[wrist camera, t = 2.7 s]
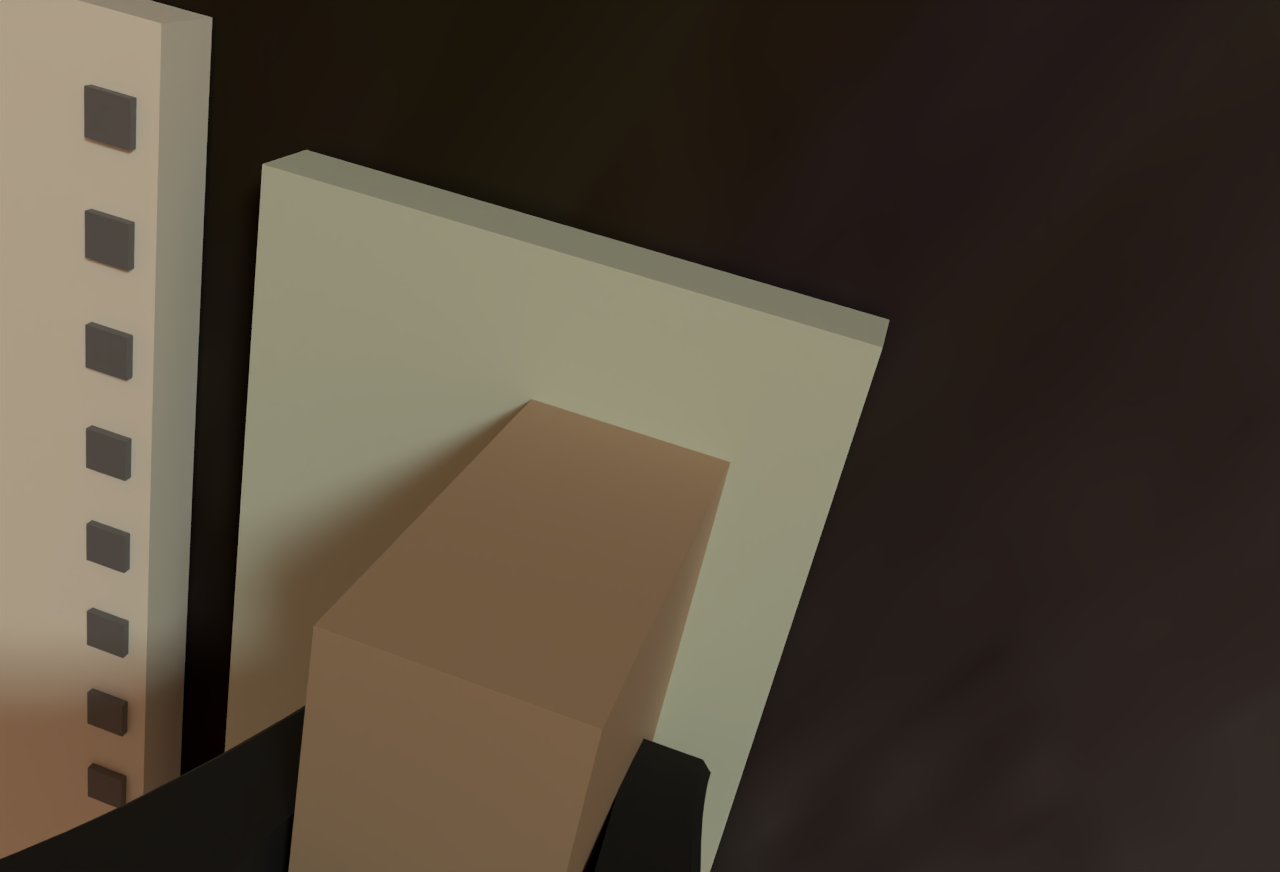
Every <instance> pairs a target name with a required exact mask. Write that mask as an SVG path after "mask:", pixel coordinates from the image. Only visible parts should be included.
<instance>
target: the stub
mask: <svg viewBox="0 0 1280 872" xmlns="http://www.w3.org/2000/svg"><path fill="white" fill-rule="evenodd" d="M888 324H889V320H888V319H885V318H881V317H878V316H874V315H871V314H868V313H864V312H861V311H857V310H854V309H850V308H847V307H844V306H840V305H837V304H833V303H830V302H826V301H823V300H820V299H816V298H813V297H809V296H806V295H802V294H799V293H796V292H792V291H789V290H785V289H782V288H778V287H775V286H772V285H768V284H765V283H761V282H758V281H754V280H751V279H747V278H744V277H741V276H737V275H734V274H730V273H727V272H723V271H720V270H717V269H713V268H710V267H706V266H703V265H699V264H696V263H693V262H689V261H686V260H682V259H679V258H675V257H672V256H669V255H665V254H662V253H658V252H655V251H651V250H648V249H645V248H641V247H638V246H634V245H631V244H627V243H624V242H621V241H617V240H614V239H610V238H607V237H603V236H600V235H597V234H593V233H590V232H586V231H583V230H579V229H576V228H573V227H569V226H566V225H562V224H559V223H555V222H552V221H549V220H545V219H542V218H538V217H535V216H531V215H528V214H524V213H521V212H518V211H514V210H511V209H507V208H504V207H500V206H497V205H494V204H490V203H487V202H483V201H480V200H476V199H473V198H470V197H466V196H463V195H459V194H456V193H452V192H449V191H446V190H442V189H439V188H435V187H432V186H428V185H425V184H422V183H418V182H415V181H411V180H408V179H404V178H401V177H398V176H394V175H391V174H387V173H384V172H380V171H377V170H374V169H370V168H367V167H363V166H360V165H356V164H353V163H350V162H346V161H343V160H339V159H336V158H332V157H329V156H326V155H322V154H319V153H315V152H312V151H308V150H305V151H301V152H298V153H295V154H292V155H289V156H286V157H283V158H280V159H277V160H274V161H271V162H268V163H265V164H262V179H261V195H260V210H259V226H258V241H257V257H256V272H255V288H254V304H253V319H252V335H251V350H250V366H249V381H248V397H247V413H246V428H245V444H244V459H243V475H242V490H241V506H240V522H239V537H238V553H237V568H236V584H235V599H234V615H233V631H232V646H231V662H230V677H229V693H228V708H227V724H226V740H225V752H226V751H228V750H229V749H231V748H233V747H235V746H236V745H238V744H240V743H241V742H243V741H245V740H247V739H248V738H250V737H252V736H254V735H255V734H257V733H259V732H261V731H262V730H264V729H266V728H268V727H269V726H271V725H273V724H275V723H276V722H278V721H280V720H281V719H283V718H285V717H286V716H288V715H290V714H291V713H293V712H295V711H296V710H298V709H300V708H301V707H303V706H305V715H304V725H303V735H302V744H301V754H300V764H299V773H298V783H297V793H296V803H295V812H294V822H293V832H292V842H291V851H290V861H289V871H288V872H594V871H595V868H596V864H597V861H598V857H599V854H600V851H601V847H602V844H603V840H604V837H605V833H606V830H607V827H608V823H609V820H610V816H611V813H612V809H613V806H614V802H615V799H616V796H617V792H618V789H619V787H620V785H621V783H622V781H623V779H624V777H625V775H626V773H627V771H628V769H629V766H630V764H631V762H632V760H633V758H634V756H635V754H636V753H637V751H638V749H639V747H640V745H641V743H642V741H643V739H647V740H650V741H653V742H655V743H658V744H661V745H664V746H667V747H669V748H672V749H675V750H678V751H681V752H683V753H686V754H689V755H692V756H695V757H697V758H700V759H703V760H704V762H705V764H706V765H707V767H708V769H709V770H710V772H711V774H710V778H709V781H708V785H707V790H706V797H705V803H704V811H703V821H702V837H701V872H710V870H711V867H712V864H713V861H714V858H715V855H716V852H717V849H718V846H719V843H720V840H721V836H722V833H723V830H724V827H725V824H726V821H727V818H728V815H729V812H730V809H731V806H732V803H733V800H734V797H735V794H736V791H737V788H738V785H739V782H740V779H741V776H742V773H743V770H744V767H745V764H746V761H747V758H748V755H749V751H750V748H751V745H752V742H753V739H754V736H755V733H756V730H757V727H758V724H759V721H760V718H761V715H762V712H763V709H764V706H765V703H766V700H767V697H768V694H769V691H770V688H771V685H772V682H773V679H774V676H775V673H776V670H777V666H778V663H779V660H780V657H781V654H782V651H783V648H784V645H785V642H786V639H787V636H788V633H789V630H790V627H791V624H792V621H793V618H794V615H795V612H796V609H797V606H798V603H799V600H800V597H801V594H802V591H803V588H804V585H805V581H806V578H807V575H808V572H809V569H810V566H811V563H812V560H813V557H814V554H815V551H816V548H817V545H818V542H819V539H820V536H821V533H822V530H823V527H824V524H825V521H826V518H827V515H828V512H829V509H830V506H831V503H832V500H833V496H834V493H835V490H836V487H837V484H838V481H839V478H840V475H841V472H842V469H843V466H844V463H845V460H846V457H847V454H848V451H849V448H850V445H851V442H852V439H853V436H854V433H855V430H856V427H857V424H858V421H859V418H860V415H861V411H862V408H863V405H864V402H865V399H866V396H867V393H868V390H869V387H870V384H871V381H872V378H873V375H874V372H875V369H876V366H877V363H878V360H879V357H880V354H881V351H882V348H883V344H884V340H885V336H886V332H887V328H888Z"/></svg>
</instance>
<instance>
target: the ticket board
mask: <svg viewBox="0 0 1280 872" xmlns="http://www.w3.org/2000/svg"><path fill="white" fill-rule="evenodd" d="M211 35H212V17H209V16H205V15H201V14H198V13H194V12H190V11H187V10H183V9H180V8H176V7H172V6H169V5H165V4H161V3H158V2H154V1H151V0H0V859H1V858H4V857H6V856H9V855H11V854H14V853H16V852H19V851H21V850H23V849H26V848H28V847H30V846H33V845H35V844H37V843H40V842H42V841H45V840H47V839H49V838H52V837H54V836H56V835H59V834H61V833H63V832H66V831H68V830H70V829H72V828H75V827H77V826H79V825H81V824H84V823H86V822H88V821H90V820H92V819H94V818H97V817H99V816H101V815H103V814H105V813H107V812H109V811H112V810H114V809H116V808H118V807H120V806H122V805H124V804H126V803H128V802H130V801H132V800H134V799H136V798H138V797H140V796H142V795H144V794H146V793H148V792H150V791H152V790H154V789H156V788H158V787H160V786H161V785H163V784H165V783H167V782H169V781H171V780H173V779H175V778H177V777H179V776H180V769H181V745H182V722H183V698H184V674H185V651H186V627H187V603H188V580H189V556H190V532H191V509H192V485H193V461H194V438H195V414H196V390H197V367H198V343H199V319H200V296H201V272H202V248H203V225H204V201H205V177H206V154H207V130H208V106H209V83H210V59H211Z"/></svg>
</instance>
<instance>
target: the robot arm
mask: <svg viewBox="0 0 1280 872" xmlns="http://www.w3.org/2000/svg"><path fill="white" fill-rule="evenodd" d="M304 715H305V706H303V707H301V708H300V709H298V710H296V711H295V712H293V713H291V714H290V715H288V716H286V717H285V718H283V719H281V720H280V721H278V722H276V723H275V724H273V725H271V726H269V727H268V728H266V729H264V730H262V731H261V732H259V733H257V734H255V735H254V736H252V737H250V738H248V739H247V740H245V741H243V742H241V743H240V744H238V745H236V746H235V747H233V748H231V749H229V750H228V751H226V752H224V753H222V754H221V755H219V756H217V757H215V758H213V759H211V760H210V761H208V762H206V763H204V764H202V765H200V766H198V767H196V768H195V769H193V770H191V771H189V772H187V773H185V774H183V775H181V776H179V777H177V778H175V779H173V780H171V781H169V782H167V783H165V784H163V785H161V786H160V787H158V788H156V789H154V790H152V791H150V792H148V793H146V794H144V795H142V796H140V797H138V798H136V799H134V800H132V801H130V802H128V803H126V804H124V805H122V806H120V807H118V808H116V809H114V810H112V811H109V812H107V813H105V814H103V815H101V816H99V817H97V818H94V819H92V820H90V821H88V822H86V823H84V824H81V825H79V826H77V827H75V828H72V829H70V830H68V831H66V832H63V833H61V834H59V835H56V836H54V837H52V838H49V839H47V840H45V841H42V842H40V843H37V844H35V845H33V846H30V847H28V848H26V849H23V850H21V851H19V852H16V853H14V854H11V855H9V856H6V857H4V858H1V859H0V872H288V871H289V861H290V851H291V842H292V832H293V822H294V812H295V803H296V793H297V783H298V773H299V764H300V754H301V744H302V735H303V725H304ZM710 774H711V772H710V770H709V769H708V767H707V765H706V764H705V762H704V760H703V759H700V758H697V757H695V756H692V755H689V754H686V753H683V752H681V751H678V750H675V749H672V748H669V747H667V746H664V745H661V744H658V743H655V742H653V741H650V740H647V739H643V741H642V743H641V745H640V747H639V749H638V751H637V753H636V754H635V756H634V758H633V760H632V762H631V764H630V766H629V769H628V771H627V773H626V775H625V777H624V779H623V781H622V783H621V785H620V787H619V789H618V792H617V796H616V799H615V802H614V806H613V809H612V813H611V816H610V820H609V823H608V827H607V830H606V833H605V837H604V840H603V844H602V847H601V851H600V854H599V857H598V861H597V864H596V868H595V871H594V872H701V837H702V821H703V811H704V803H705V797H706V790H707V785H708V781H709V778H710Z"/></svg>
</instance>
